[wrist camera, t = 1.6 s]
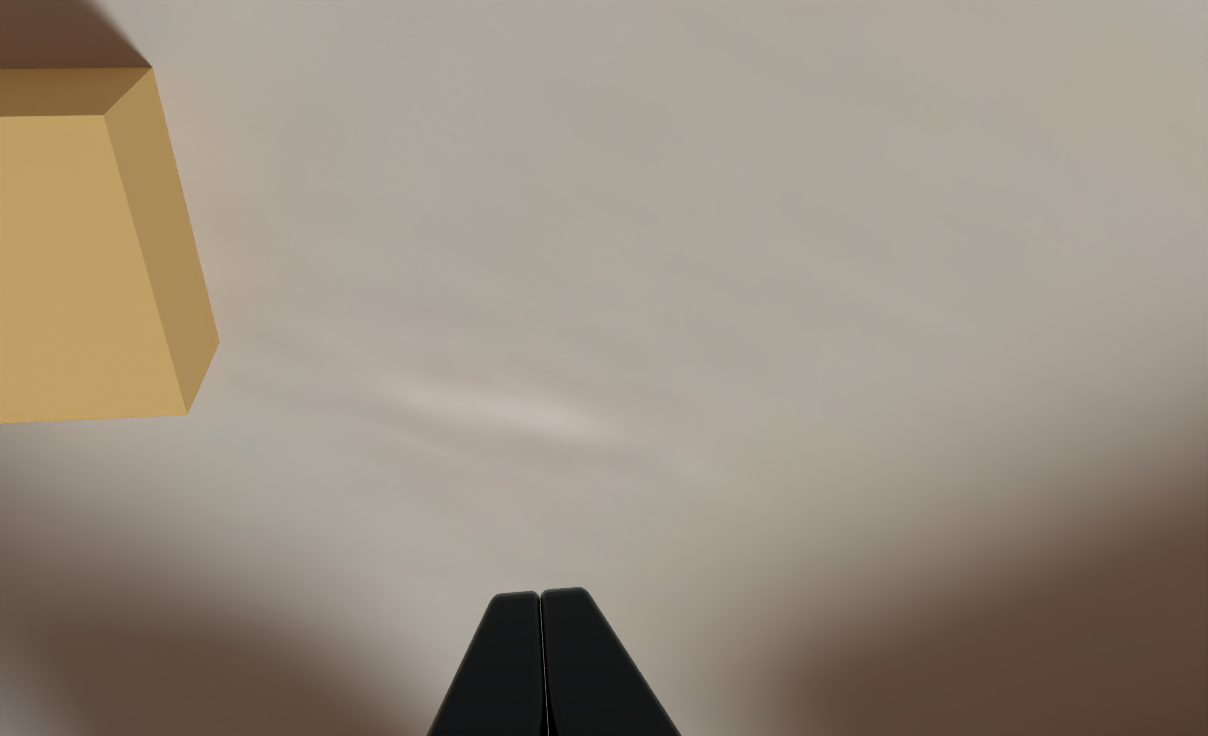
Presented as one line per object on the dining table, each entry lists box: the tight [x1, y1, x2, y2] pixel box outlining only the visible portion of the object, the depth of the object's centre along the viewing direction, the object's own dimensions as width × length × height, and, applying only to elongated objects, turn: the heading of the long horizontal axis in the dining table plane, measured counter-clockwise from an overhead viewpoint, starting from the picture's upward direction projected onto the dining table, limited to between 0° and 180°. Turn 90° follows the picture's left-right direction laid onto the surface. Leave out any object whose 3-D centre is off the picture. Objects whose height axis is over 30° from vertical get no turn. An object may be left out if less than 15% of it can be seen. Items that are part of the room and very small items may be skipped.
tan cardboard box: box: [0, 67, 219, 423], centre depth 15 cm, size 5×4×2 cm
